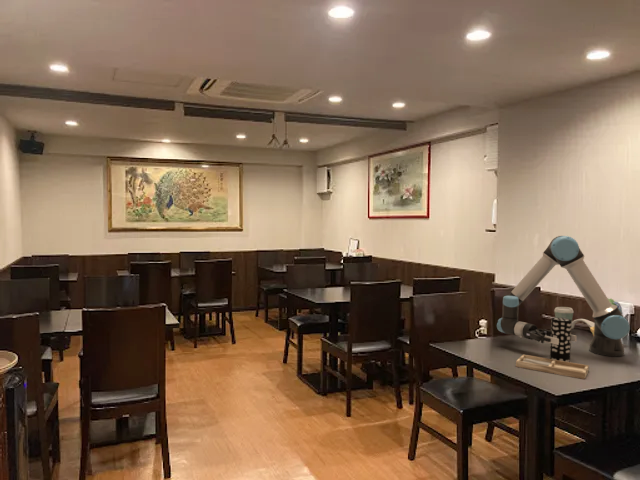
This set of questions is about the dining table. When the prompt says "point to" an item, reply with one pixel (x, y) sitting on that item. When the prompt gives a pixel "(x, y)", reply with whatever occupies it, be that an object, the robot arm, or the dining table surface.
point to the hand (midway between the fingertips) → (567, 340)
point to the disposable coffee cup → (564, 312)
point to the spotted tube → (561, 339)
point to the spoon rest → (589, 323)
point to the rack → (553, 366)
